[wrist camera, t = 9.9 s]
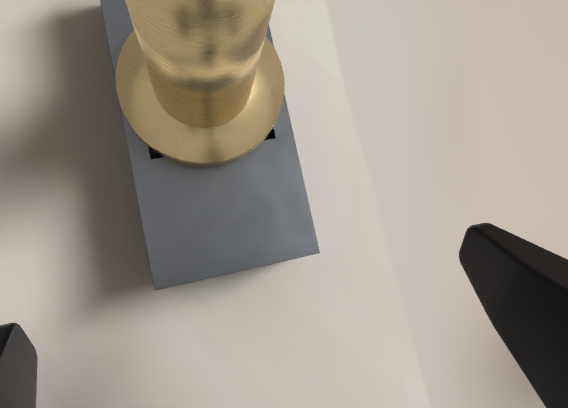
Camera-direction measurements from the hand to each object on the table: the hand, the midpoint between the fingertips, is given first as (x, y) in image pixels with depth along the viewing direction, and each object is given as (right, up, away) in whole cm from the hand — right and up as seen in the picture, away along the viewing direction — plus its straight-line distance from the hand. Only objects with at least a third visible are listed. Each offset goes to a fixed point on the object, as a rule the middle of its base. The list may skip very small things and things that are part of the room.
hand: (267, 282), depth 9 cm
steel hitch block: (-4, +6, +14) cm, 15 cm away
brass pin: (-4, +6, +14) cm, 16 cm away
